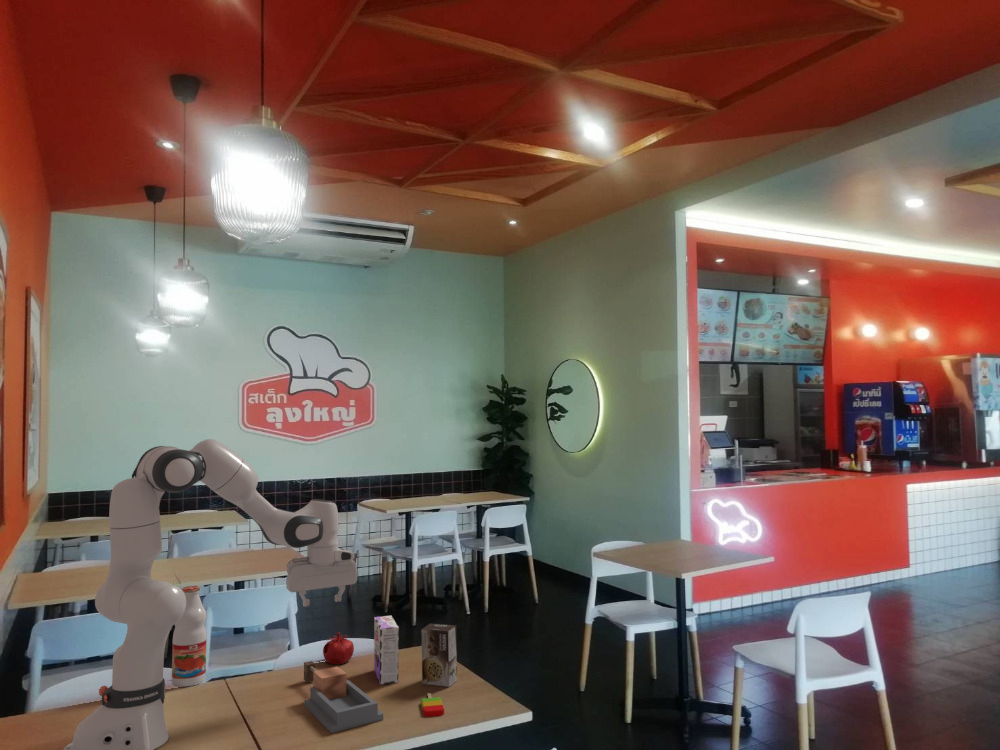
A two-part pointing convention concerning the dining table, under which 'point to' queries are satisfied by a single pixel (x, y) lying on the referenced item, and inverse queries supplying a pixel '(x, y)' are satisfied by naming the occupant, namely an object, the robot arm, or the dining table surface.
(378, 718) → the shelf lane
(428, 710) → the popsicle
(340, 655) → the pomegranate
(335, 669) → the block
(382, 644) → the candy box
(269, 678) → the dining table surface
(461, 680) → the dining table surface
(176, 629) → the fruit juice
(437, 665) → the coffee box
